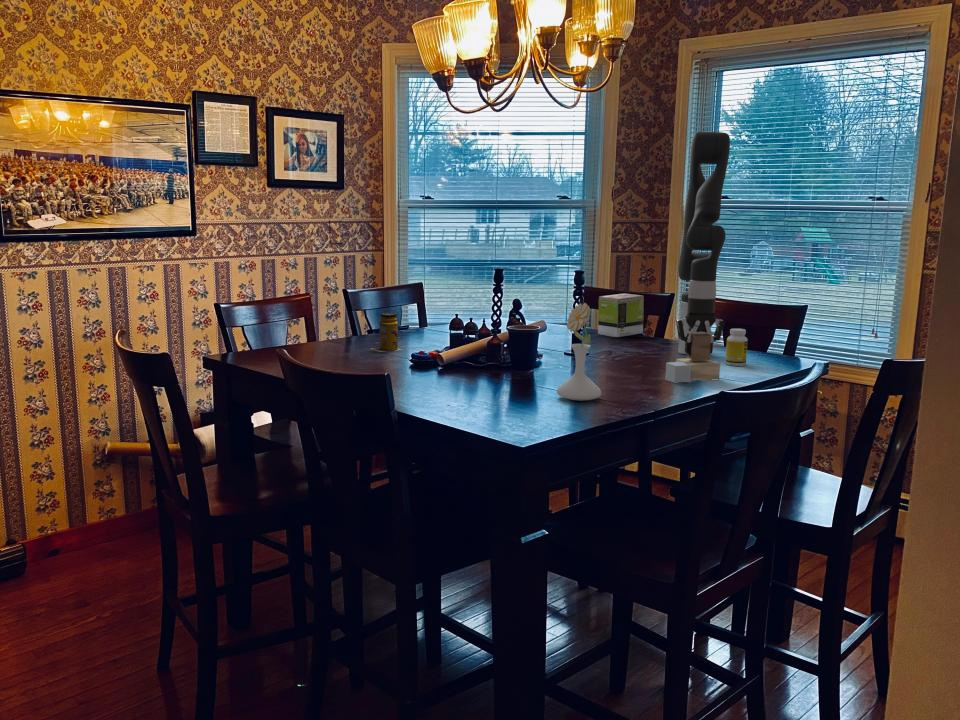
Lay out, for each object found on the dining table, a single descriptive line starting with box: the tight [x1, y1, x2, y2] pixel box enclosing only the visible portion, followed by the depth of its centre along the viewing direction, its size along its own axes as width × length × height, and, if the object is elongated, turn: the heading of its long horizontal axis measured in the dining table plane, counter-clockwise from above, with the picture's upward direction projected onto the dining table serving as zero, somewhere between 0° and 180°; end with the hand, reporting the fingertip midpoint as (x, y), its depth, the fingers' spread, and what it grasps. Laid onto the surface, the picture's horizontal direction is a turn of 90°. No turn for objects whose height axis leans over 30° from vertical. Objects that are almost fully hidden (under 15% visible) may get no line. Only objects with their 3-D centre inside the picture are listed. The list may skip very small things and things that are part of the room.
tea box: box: [597, 293, 645, 338], centre depth 316 cm, size 15×10×15 cm, turn 130°
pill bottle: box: [724, 328, 749, 367], centre depth 260 cm, size 6×6×11 cm
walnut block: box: [686, 333, 711, 360], centre depth 240 cm, size 5×5×7 cm
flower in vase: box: [556, 302, 603, 402], centre depth 211 cm, size 13×11×25 cm
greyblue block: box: [664, 361, 691, 384], centre depth 236 cm, size 5×5×5 cm
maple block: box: [675, 357, 721, 382], centre depth 241 cm, size 9×9×5 cm
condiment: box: [369, 312, 403, 353], centre depth 278 cm, size 7×8×12 cm
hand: (698, 354), depth 241 cm, fingers closed on walnut block, 5 cm apart
